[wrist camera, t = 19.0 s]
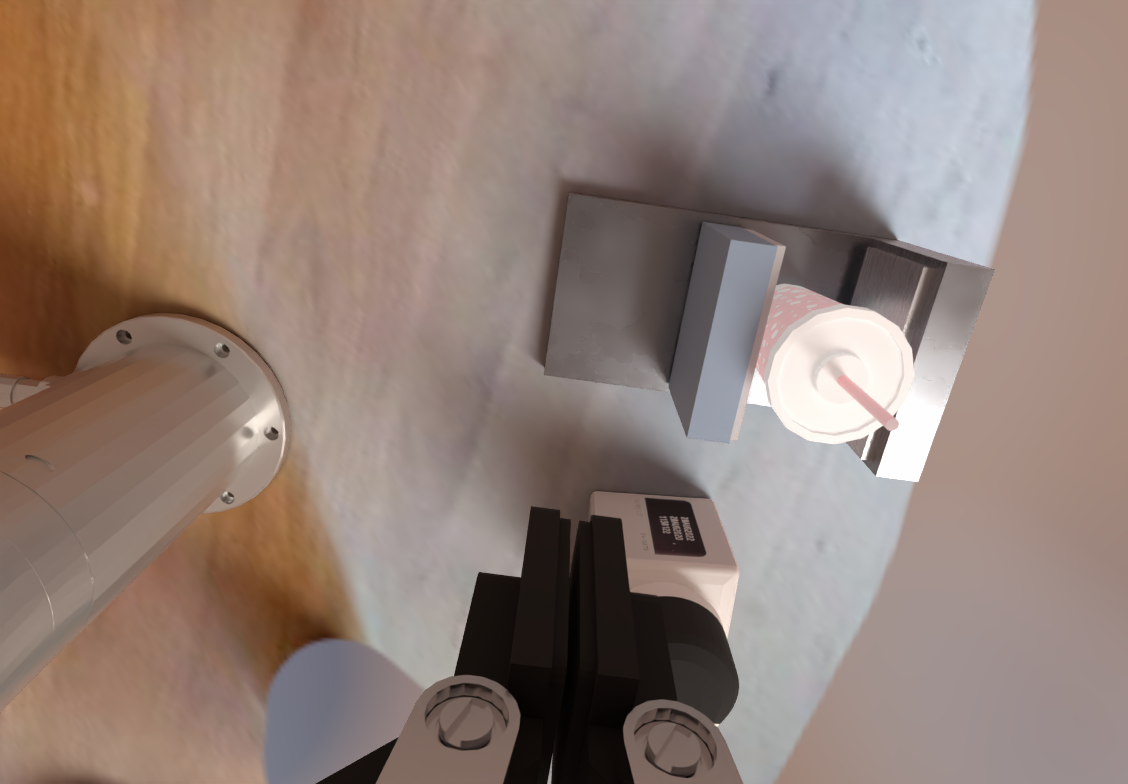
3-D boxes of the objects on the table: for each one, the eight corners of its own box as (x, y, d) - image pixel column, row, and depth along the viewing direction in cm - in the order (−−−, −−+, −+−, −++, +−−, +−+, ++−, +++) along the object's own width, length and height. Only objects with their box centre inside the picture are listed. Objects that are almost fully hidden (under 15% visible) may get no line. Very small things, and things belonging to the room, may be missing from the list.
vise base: (545, 368, 39) (535, 429, 31) (569, 191, 36) (565, 206, 28) (846, 410, 40) (917, 481, 32) (898, 240, 37) (994, 269, 28)
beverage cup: (852, 350, 37) (1000, 462, 24) (748, 394, 38) (835, 524, 25) (817, 249, 36) (956, 312, 22) (708, 298, 37) (780, 385, 23)
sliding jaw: (668, 387, 38) (687, 438, 32) (702, 221, 35) (731, 239, 28) (712, 393, 38) (739, 444, 32) (749, 228, 35) (789, 248, 28)
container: (590, 488, 42) (595, 628, 30) (714, 497, 42) (769, 640, 30) (581, 591, 45) (582, 759, 33) (697, 599, 45) (742, 769, 33)
